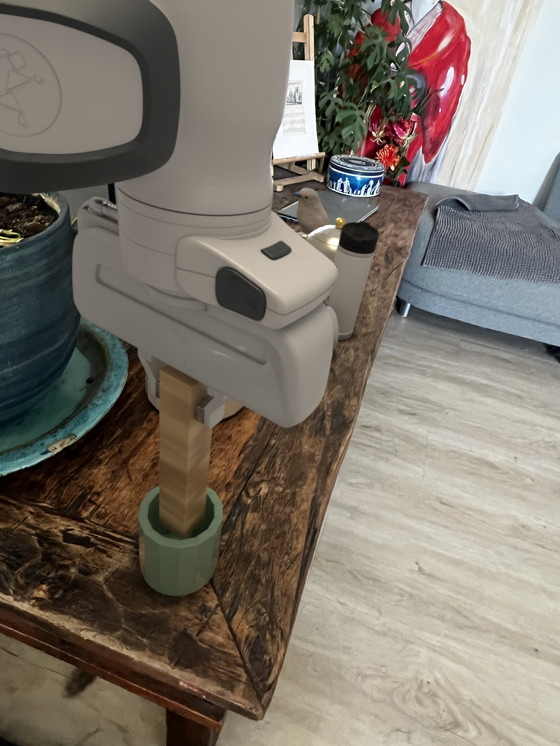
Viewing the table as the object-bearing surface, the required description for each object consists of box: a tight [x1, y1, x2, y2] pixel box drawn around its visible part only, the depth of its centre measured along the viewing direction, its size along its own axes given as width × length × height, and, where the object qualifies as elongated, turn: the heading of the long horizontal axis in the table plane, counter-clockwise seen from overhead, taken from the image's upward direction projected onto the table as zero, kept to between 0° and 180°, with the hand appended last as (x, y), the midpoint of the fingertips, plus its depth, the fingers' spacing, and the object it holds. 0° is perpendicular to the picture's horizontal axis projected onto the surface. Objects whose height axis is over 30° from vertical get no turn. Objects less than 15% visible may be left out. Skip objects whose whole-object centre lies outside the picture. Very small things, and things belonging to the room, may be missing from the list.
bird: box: [292, 187, 331, 235], centre depth 117 cm, size 5×14×15 cm, turn 100°
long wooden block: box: [158, 365, 213, 540], centre depth 41 cm, size 3×3×18 cm
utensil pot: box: [137, 485, 224, 597], centre depth 48 cm, size 8×8×8 cm
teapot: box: [296, 217, 347, 303], centre depth 99 cm, size 18×14×16 cm
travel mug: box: [324, 220, 380, 341], centre depth 86 cm, size 6×7×20 cm
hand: (186, 408), depth 38 cm, fingers closed on long wooden block, 3 cm apart
